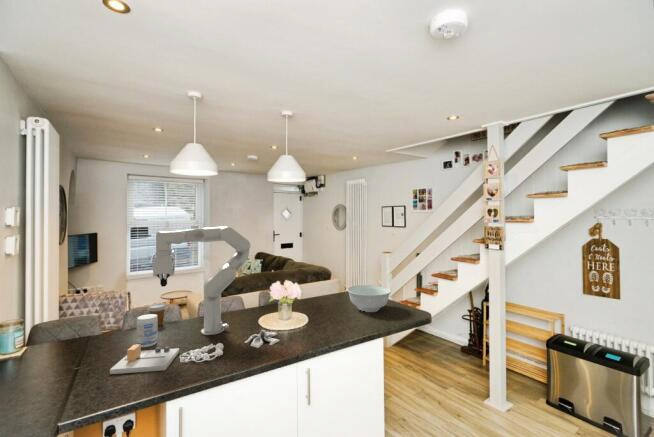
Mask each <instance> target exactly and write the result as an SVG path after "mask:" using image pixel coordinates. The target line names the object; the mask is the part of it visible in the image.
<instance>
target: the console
mask: <svg viewBox="0 0 654 437" xmlns="http://www.w3.org/2000/svg"><path fill="white" fill-rule="evenodd" d="M178 354H180V348H178V347H176V348H171V347H170V346H165V347H163V349H162V347H161V346H158V347H155V348H154V349H149V350H145V349H144V350H141V355H140V356H139V357H138V358H137V359H136V360H135V361H127V354H126V355H125V356H123V358H122V359H120V360H119V361H118V362H117V363H115V364H114V365H113V366H112V367H111V368H110V369H109V375H119V374H131V373H133V374H134V373H143V372H147V373H148V372H156V371H166V370H167V369H168V367H169V366H170V365H171V363H172V362H173V361H174V359H176V358H177V356H178Z"/></svg>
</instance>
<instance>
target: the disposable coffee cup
mask: <svg viewBox="0 0 654 437" xmlns="http://www.w3.org/2000/svg"><path fill="white" fill-rule="evenodd" d="M147 310H148V312H149V313H148V314H156V315H157V318H158V327H160V326H162V325H164V317H165V316H164V315H165V310H166V305H165V304H164V303H159V304H158V303H157V304H156V303H155V304H153V305H150V306H149V307H148V309H147Z"/></svg>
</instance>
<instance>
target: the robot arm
mask: <svg viewBox="0 0 654 437" xmlns="http://www.w3.org/2000/svg"><path fill="white" fill-rule="evenodd" d="M223 241H224V242H225V243H226V244H228V245H229V246H230V247H232V248H233V249H235V252H234V254H233V255H232V256H231V257H230V258H229V259H228V260H227V261H226V262H225V263H224V264H222V266H221V267H219V268H218V271H217V273H216V274H214V276H212V277H209V278H207V279H206V280H205V282H204V283H203V328H202V329H200V334H202V335H205V336H212V335H218V334H220V333H222V332H224V330H225V329H229V324H228V323H223V321H222V293H223V292H224V291H225V290H226V288H227V287H228V286H230V285H231V284H232V282H233V281H234V280H235V278H236V276H237V272H238V271H239V270H240V269H241V268H242V267H243V265H245V264H246V262H247V261H248V259H249V256H250V249H251V242H250V241H249V240H248V239H247V238H246V237H244V236H243V235H242V234H240V233H239V232H238V231H237V230H235V229H234V228H233V227H231V226H229V225H228V226H227V225H225V226H213V227H212V226H211V227H201V228H191V229H181V230H179V229H178V230H175V231H174V230H173V231H169V230H167V231H166V230H164V231H163V230H161V231H160V230H159V231H156V233H155V255H154V259H153V262H152V264H153V265H152V276H153V277H158V279H159V280H160V286H161V287H166V286H167V285H168V279H169V277H171V276H175V259H174V255H173V254H174V253H175V251H174V250H172V244H173V245H181V244H183V243H198V242H199V243H200V242H201V243H214V242H223Z"/></svg>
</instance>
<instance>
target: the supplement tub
mask: <svg viewBox="0 0 654 437" xmlns="http://www.w3.org/2000/svg"><path fill="white" fill-rule="evenodd" d="M158 327H159V326H158V318H157V315H156V314H149V313H148V314H142V315H140V316H137V318H136V344H141V348H148V347H152V346H154V345H156V344H157V343H158V330H159V328H158ZM136 344H135V345H136Z"/></svg>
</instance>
